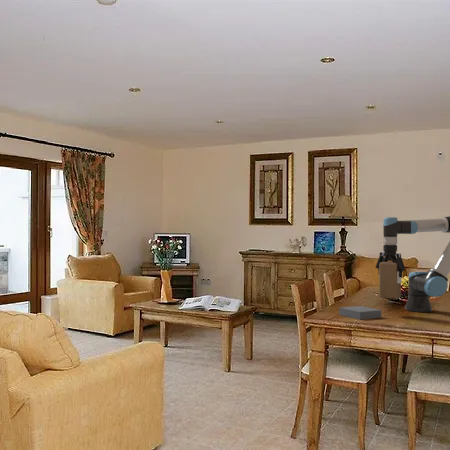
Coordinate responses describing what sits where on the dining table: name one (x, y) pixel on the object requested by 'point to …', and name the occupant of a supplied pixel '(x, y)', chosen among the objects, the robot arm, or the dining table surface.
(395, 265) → the wooden block
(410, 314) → the dining table surface
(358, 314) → the charcoal plinth
